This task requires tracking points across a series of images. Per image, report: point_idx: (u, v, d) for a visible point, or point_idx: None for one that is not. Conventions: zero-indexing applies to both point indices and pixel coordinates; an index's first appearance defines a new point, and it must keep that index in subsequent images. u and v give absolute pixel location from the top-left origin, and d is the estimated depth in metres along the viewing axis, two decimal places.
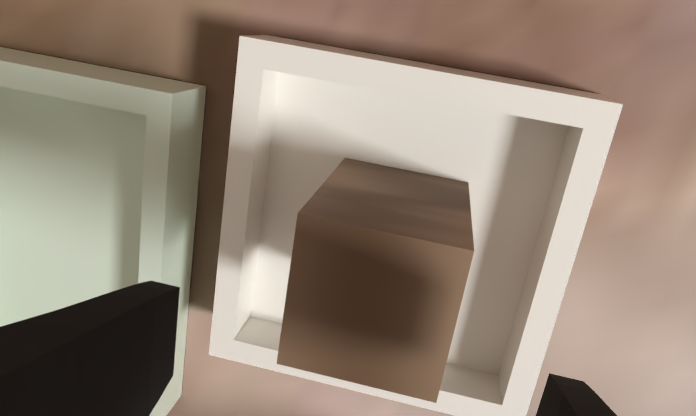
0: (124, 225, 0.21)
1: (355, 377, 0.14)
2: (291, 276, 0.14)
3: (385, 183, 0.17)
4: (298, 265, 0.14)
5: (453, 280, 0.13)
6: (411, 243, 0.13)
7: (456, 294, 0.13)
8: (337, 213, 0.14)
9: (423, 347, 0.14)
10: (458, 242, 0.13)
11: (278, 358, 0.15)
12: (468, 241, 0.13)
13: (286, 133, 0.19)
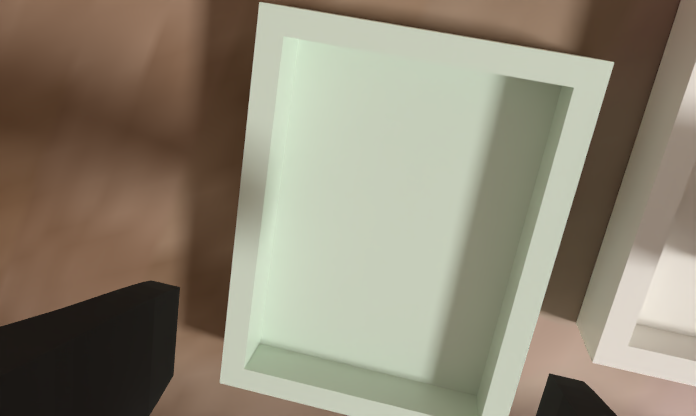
0: (475, 216, 0.19)
1: None
2: None
3: None
4: None
5: None
6: None
7: None
8: None
9: None
10: None
11: None
12: None
13: None
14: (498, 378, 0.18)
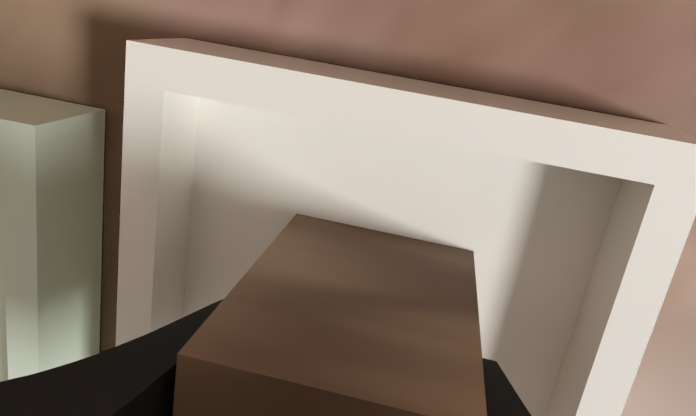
0: (1, 298, 0.15)
1: None
2: None
3: (349, 263, 0.11)
4: None
5: None
6: (375, 412, 0.07)
7: None
8: (251, 347, 0.08)
9: None
10: (459, 406, 0.07)
11: None
12: (477, 401, 0.08)
13: (213, 178, 0.13)
14: None
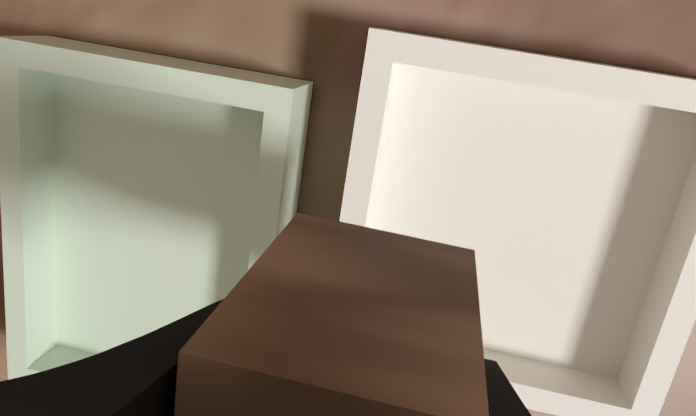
0: (224, 226, 0.20)
1: None
2: None
3: (350, 262, 0.11)
4: None
5: None
6: (376, 411, 0.07)
7: None
8: (254, 346, 0.08)
9: None
10: (461, 404, 0.07)
11: None
12: (478, 400, 0.08)
13: (401, 129, 0.18)
14: None
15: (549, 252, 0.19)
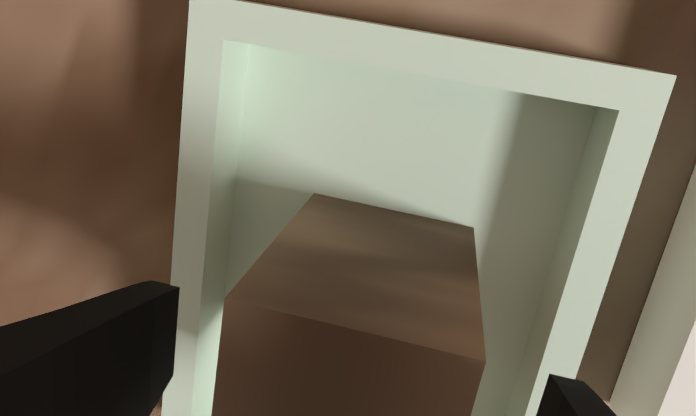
0: (481, 272, 0.14)
1: None
2: (218, 385, 0.09)
3: (363, 234, 0.12)
4: (228, 370, 0.09)
5: (454, 401, 0.09)
6: (391, 347, 0.09)
7: None
8: (285, 295, 0.09)
9: None
10: (462, 343, 0.09)
11: None
12: (476, 341, 0.09)
13: None
14: None
15: None
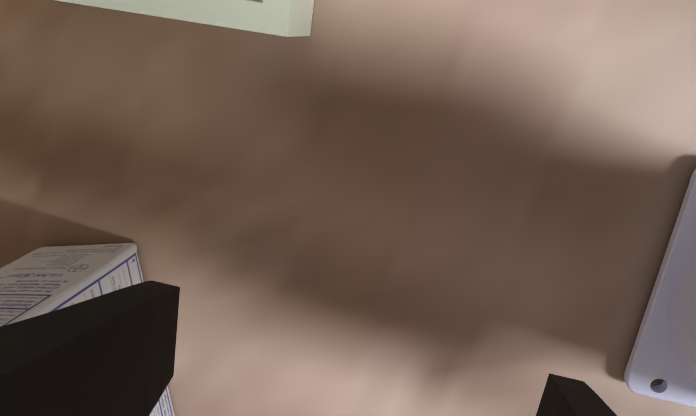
0: None
1: None
2: None
3: None
4: None
5: None
6: None
7: None
8: None
9: None
10: None
11: None
12: None
13: None
14: None
15: None
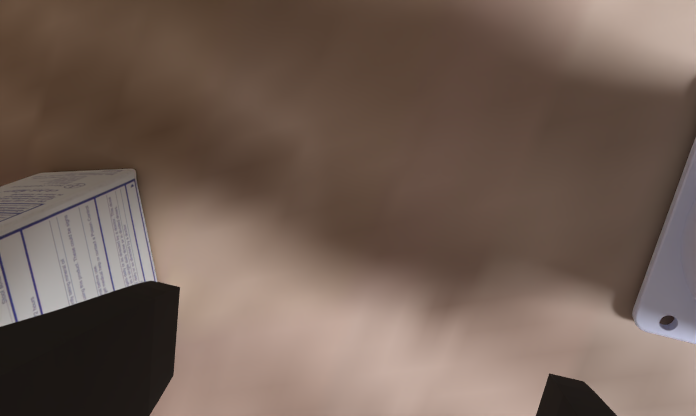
0: None
1: None
2: None
3: None
4: None
5: None
6: None
7: None
8: None
9: None
10: None
11: None
12: None
13: None
14: None
15: None
